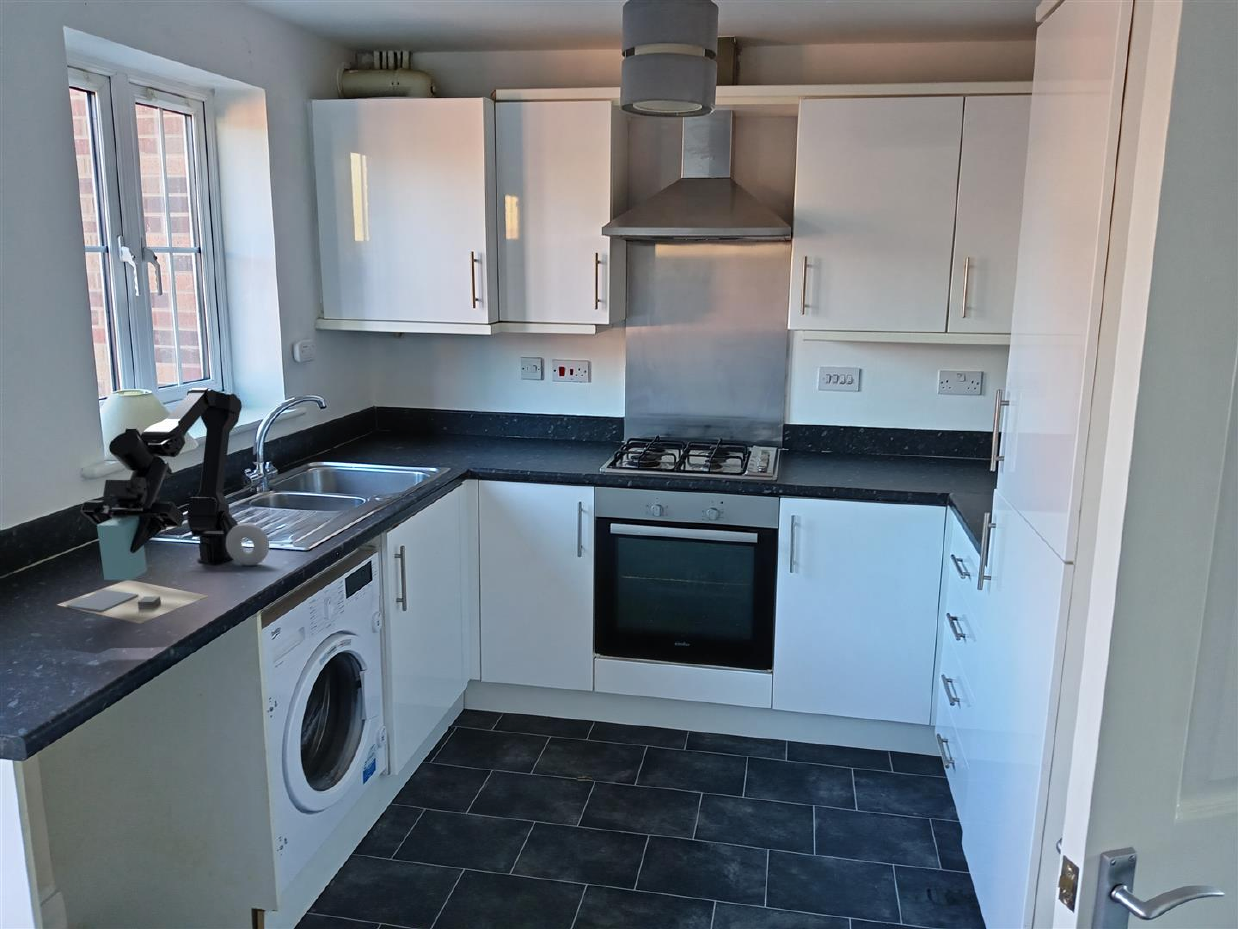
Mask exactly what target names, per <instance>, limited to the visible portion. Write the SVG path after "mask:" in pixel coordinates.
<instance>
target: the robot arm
mask: <svg viewBox="0 0 1238 929" xmlns="http://www.w3.org/2000/svg"><path fill="white" fill-rule="evenodd" d="M242 408H243V406H242V401H241V399H240V398H238V395H237V394H235V393H225V392H220V391H217V390H215V389H211V388H208V387H193V388H190V389H188V391H187V392H186V396H185V397H184V398H183V399H182V400H181V401H180V403H179V404H178V405H177V406H176V407H175V408H174V409H172V411H171V412H170V414H168V415H167V417H166V418H165V419H164V420H162V421H160V422H158V423H155V424H152V425H150V426H149V427H147V428H146V429H144V430H143V431H142V432H141V433H140V431H139V430H138V429H137V427H132V428H130V427H126V428H125V431H124V432H122V433H119V435H117V436H115V437H114V438H113V440H111V441H110V442H109V445H108V450H109V452H110V453H111V455H113V457H114V458H116V460H118V462H120V464H122V466H123V467H125V469H127V470H128V471H132V473H131V476H130V478H129V479H105V481H104V488H103V494H102V497H108V498H113V500H112V501H113V503H114V504H116V505H119V506H118V507H113V506H111V505H110V504H108V502H106V501H105V500H86V501H84V502H83V504H82V506H81V509H80V510H79V512H80V513H81V514H83V515H84V517H86V519H88V520H89V521H90V522H91V523H93V524H94V525H96V526H97V525H98V524H101V523H103V522H105V521H108V520H110V519H112V518H114V517H117V518H139V526H138V528H137V531H136V534H135V536H134V539H133V541H132V545H131V549H130V552H132V553H135V552H136V551H137V550H139V549H140V548H141V547H142V546H143V545H144V546H145V544H146V543H148V542H149V541H150V540H151V539H152V538H154V537H155V536H156V535H158V534H159V533H160V532H162V531H166V529H167V527H168V528H169V527H170V528H182V526H183V524H184V520H185V514H184V512H182V511H181V509H179V507H177V505H175V503H174V502H172V501H156V500H157V499H158V500H160V499H161V497H162V493H161V492H160V489H161V486H162V483H163V480H164V477H165V476H172V475H173V471H172V468H171V467H170V464H169V462H168V461H165V460H164V459H163V458H176V457H177V456H179V454H180V453H181V451H182V449H183V448H184V446H185V444H186V439H185V436H186V434H187V432H189V430H190V429H192V427H193V425H195V423H196V422H197V421H198V420H199V419H201V421H202V423H203V425H204V427H205V428H206V434H205V442H204V452H203V458H202V470H201V476H200V484H199V485H200V487H199V491H198V493H197V494H196V495H195V497H194V496H192V497H190V498H189V500H188V509H187V513H186V515H187V517H186V520H187V524H188V526H189V530H190V533H191V536H192V537H199V544H198V548H199V558H197V560H196V561H197V562H199V563H204V564H208V565H209V564H210V565H214V566H215V565H216V566H217V565H220V564H224V563H225V562H228V561H232V560H234V559H233V558H231V556H230V555H229V553H228V552H227V548H226V537H227V535H228V532H229V531H230V530H231V529H232V528H233V527H234V526H236V525H238V521H237V520H236V519H235V518H234V517H233V516H232V514H230V504H229V502H228V500H227V499H226V497H225V495H224V486H225V479H226V469H227V459H228V450H229V442H230V440H229V439H230V433H231V431H232V430H233V429H234V428H235V426H236V425H237V424H238V422H239V420H240V415H241V414H240V413H241V412H242Z"/></svg>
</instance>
